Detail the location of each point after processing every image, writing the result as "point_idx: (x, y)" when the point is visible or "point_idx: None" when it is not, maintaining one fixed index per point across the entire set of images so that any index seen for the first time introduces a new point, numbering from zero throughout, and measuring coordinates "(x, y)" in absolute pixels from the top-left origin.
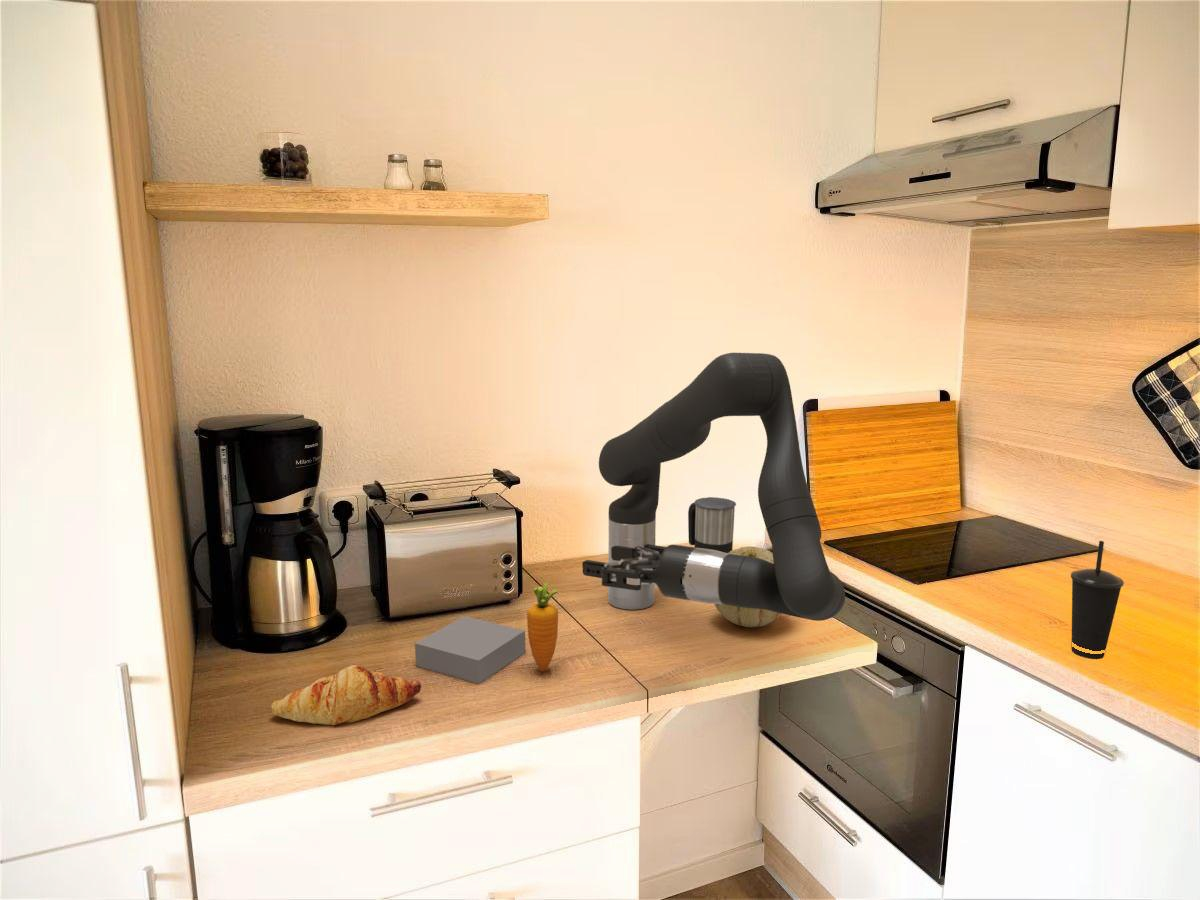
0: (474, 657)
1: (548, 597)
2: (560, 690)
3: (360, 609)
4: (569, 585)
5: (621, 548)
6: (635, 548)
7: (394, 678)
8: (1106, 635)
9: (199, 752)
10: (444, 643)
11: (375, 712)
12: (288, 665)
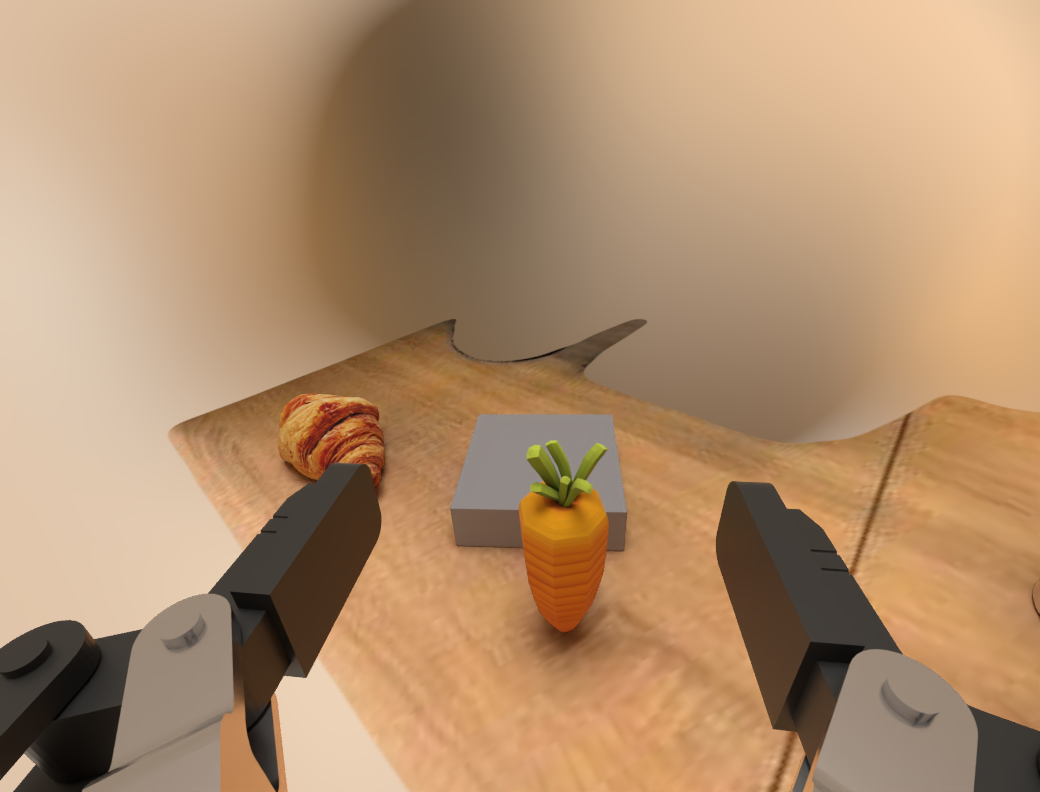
0: (460, 497)
1: (571, 488)
2: (490, 722)
3: (598, 343)
4: (974, 472)
5: (759, 543)
6: (846, 672)
7: (356, 448)
8: None
9: (232, 406)
10: (496, 440)
11: (311, 477)
12: (433, 367)
